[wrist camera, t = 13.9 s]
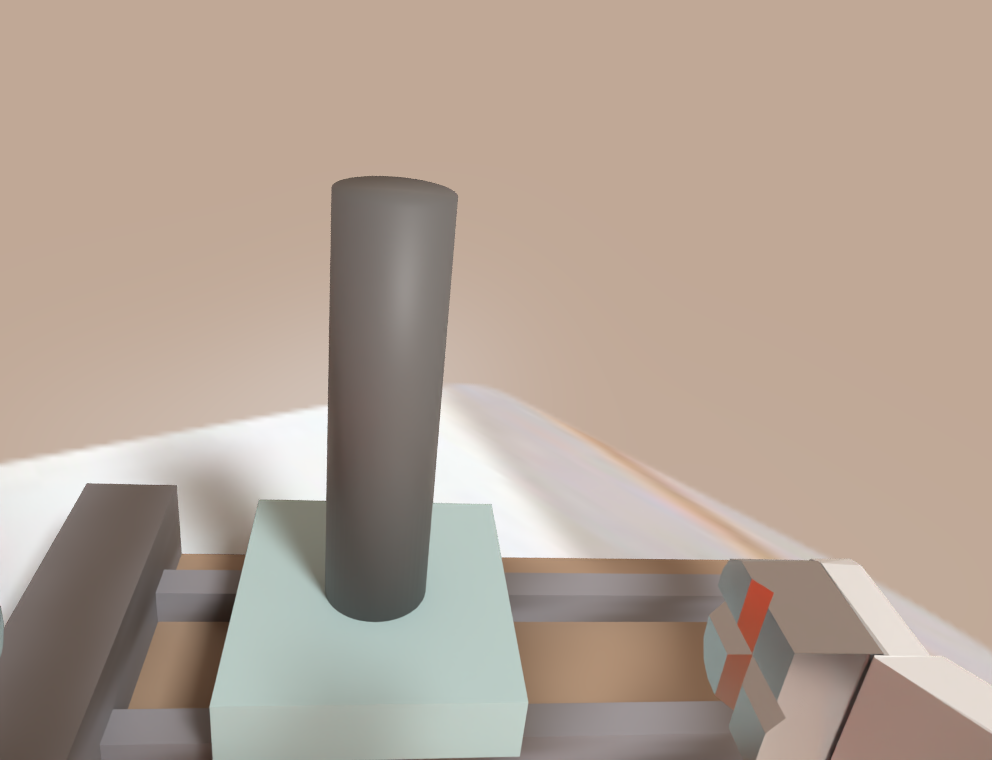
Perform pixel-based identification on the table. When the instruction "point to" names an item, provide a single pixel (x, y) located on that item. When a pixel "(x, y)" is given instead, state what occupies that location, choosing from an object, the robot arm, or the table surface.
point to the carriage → (376, 534)
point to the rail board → (207, 612)
